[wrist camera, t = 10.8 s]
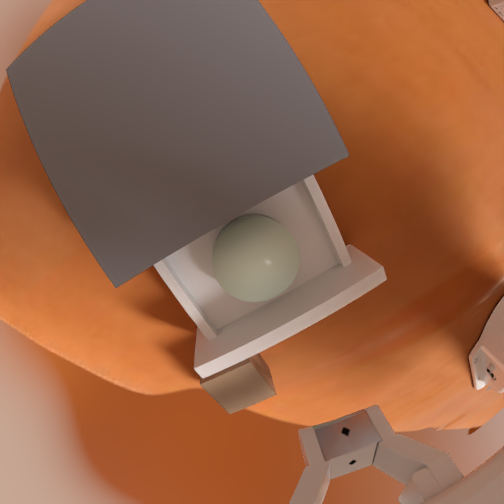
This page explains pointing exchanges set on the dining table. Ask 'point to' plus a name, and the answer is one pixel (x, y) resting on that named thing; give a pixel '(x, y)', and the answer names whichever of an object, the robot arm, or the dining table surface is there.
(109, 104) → the grey drawer cabinet
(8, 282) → the dining table surface
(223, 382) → the walnut block
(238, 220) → the pale green disc
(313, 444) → the robot arm
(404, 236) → the dining table surface
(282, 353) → the dining table surface
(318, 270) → the white drawer
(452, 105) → the dining table surface
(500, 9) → the skincare box
